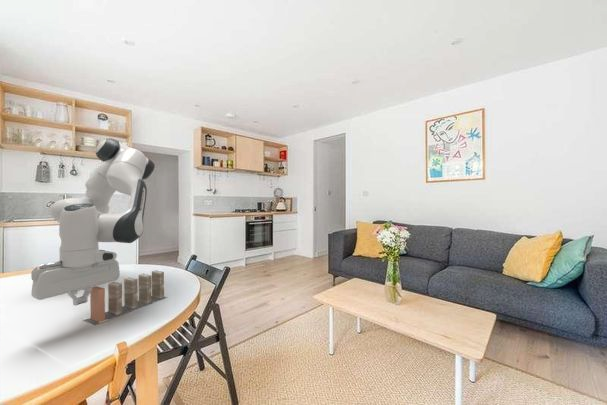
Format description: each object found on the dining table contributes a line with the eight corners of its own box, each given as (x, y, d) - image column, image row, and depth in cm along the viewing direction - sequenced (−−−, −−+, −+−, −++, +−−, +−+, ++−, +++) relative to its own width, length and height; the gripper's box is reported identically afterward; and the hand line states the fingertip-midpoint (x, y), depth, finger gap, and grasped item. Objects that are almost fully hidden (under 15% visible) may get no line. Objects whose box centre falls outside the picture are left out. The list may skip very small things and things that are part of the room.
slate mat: (82, 321, 80) (82, 319, 80) (155, 295, 102) (155, 294, 102) (94, 326, 77) (94, 324, 77) (167, 298, 99) (167, 297, 99)
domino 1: (117, 315, 83) (116, 285, 83) (108, 312, 86) (108, 282, 85) (122, 313, 85) (122, 283, 85) (113, 310, 87) (113, 281, 87)
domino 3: (147, 303, 92) (147, 276, 92) (138, 301, 95) (138, 274, 94) (151, 302, 94) (151, 275, 94) (143, 299, 96) (142, 273, 96)
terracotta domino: (96, 316, 82) (96, 286, 82) (105, 320, 80) (104, 288, 80) (90, 318, 81) (90, 287, 81) (99, 322, 79) (98, 290, 79)
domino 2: (132, 309, 88) (132, 280, 88) (124, 306, 90) (124, 278, 90) (137, 307, 89) (137, 279, 89) (129, 304, 92) (128, 277, 91)
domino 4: (160, 299, 97) (160, 272, 97) (151, 296, 99) (151, 271, 99) (164, 297, 98) (163, 271, 98) (155, 295, 101) (155, 270, 100)
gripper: (36, 267, 66) (37, 320, 66) (122, 252, 84) (122, 294, 84) (26, 264, 69) (27, 315, 69) (111, 250, 87) (111, 290, 87)
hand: (80, 303), depth 77 cm, fingers closed
